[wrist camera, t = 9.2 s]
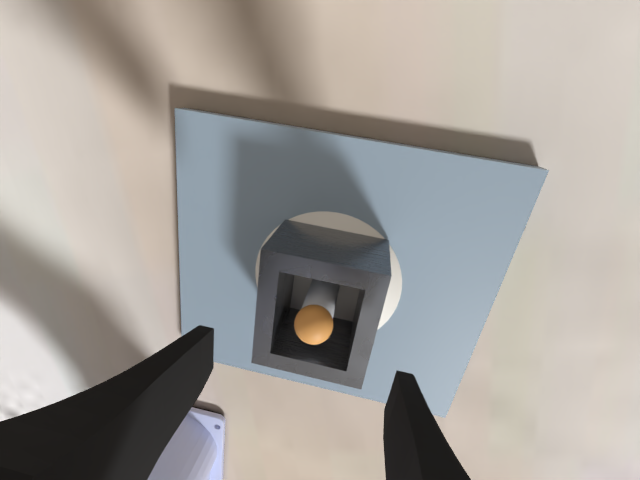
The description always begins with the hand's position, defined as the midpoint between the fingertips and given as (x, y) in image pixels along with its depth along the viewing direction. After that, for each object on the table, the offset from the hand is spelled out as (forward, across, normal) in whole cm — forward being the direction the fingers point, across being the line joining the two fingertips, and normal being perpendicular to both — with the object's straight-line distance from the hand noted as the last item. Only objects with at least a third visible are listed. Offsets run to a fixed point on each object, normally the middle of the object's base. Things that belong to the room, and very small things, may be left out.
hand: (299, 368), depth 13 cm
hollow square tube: (+7, 0, 0) cm, 7 cm away
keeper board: (+8, 0, 0) cm, 8 cm away
